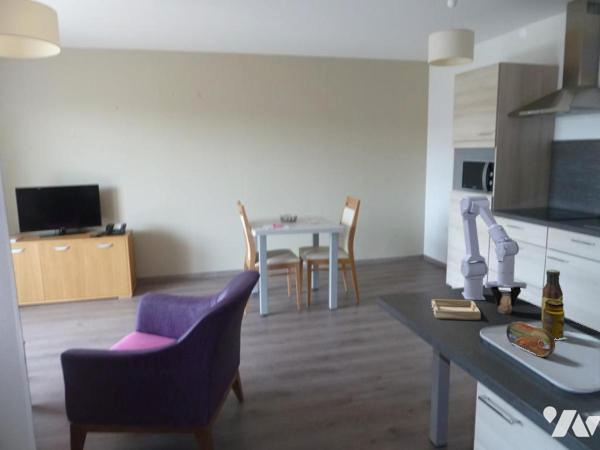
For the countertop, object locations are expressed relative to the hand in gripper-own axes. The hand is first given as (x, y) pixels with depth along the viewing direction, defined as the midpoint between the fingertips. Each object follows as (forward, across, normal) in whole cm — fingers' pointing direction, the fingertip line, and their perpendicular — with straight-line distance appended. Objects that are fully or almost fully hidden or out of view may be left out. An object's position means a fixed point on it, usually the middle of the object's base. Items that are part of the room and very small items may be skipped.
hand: (504, 305), depth 165 cm
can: (+2, 0, 0) cm, 2 cm away
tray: (+2, -19, -3) cm, 19 cm away
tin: (+3, -2, -35) cm, 35 cm away
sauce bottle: (+3, +12, -13) cm, 18 cm away
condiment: (+3, +8, -23) cm, 25 cm away
